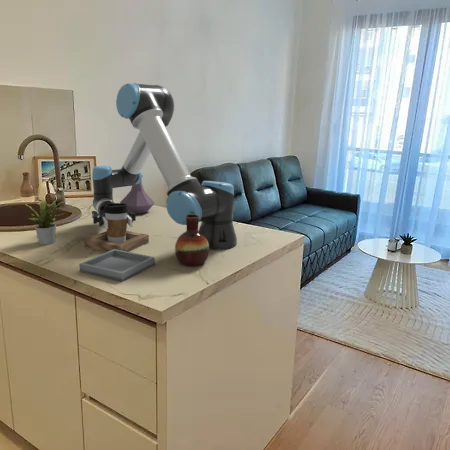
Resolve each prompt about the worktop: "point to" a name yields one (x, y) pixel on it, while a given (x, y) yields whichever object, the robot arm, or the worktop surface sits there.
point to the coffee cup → (116, 221)
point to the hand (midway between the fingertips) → (119, 224)
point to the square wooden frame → (103, 244)
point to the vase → (192, 244)
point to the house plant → (45, 223)
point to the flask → (138, 200)
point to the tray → (117, 264)
